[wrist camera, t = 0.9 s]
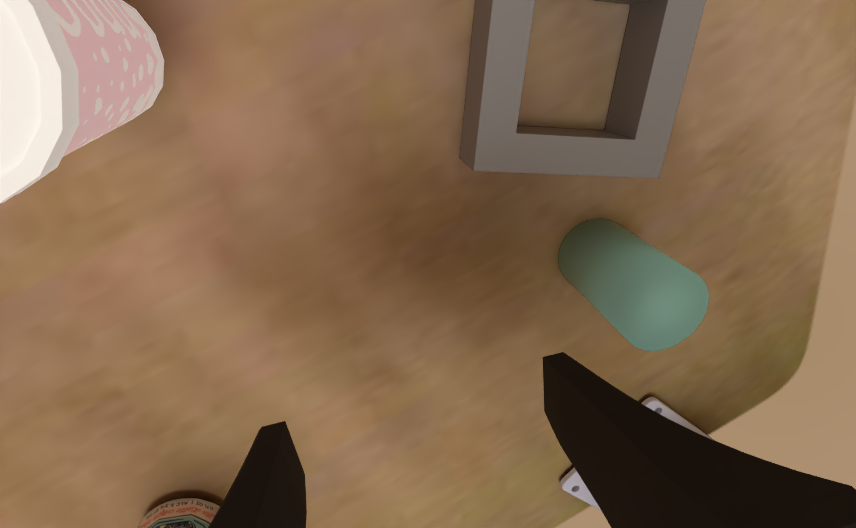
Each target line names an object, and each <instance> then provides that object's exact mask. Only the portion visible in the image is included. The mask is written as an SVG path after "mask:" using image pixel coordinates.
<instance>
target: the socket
mask: <svg viewBox="0 0 856 528" xmlns="http://www.w3.org/2000/svg"><path fill="white" fill-rule="evenodd" d="M596 1H605V2H614V3H623V4H631V7H630V12H629V17H628V21H627V26H626V31H625V35H624V40H623V45H622V50H621V54H620V59H619V64H618V69H617V73H616V78H615V83H614V87H613V92H612V97H611V102H610V106H609V111H608V116H607V121H606V125H605V130H586V129H569V128H552V127H535V126H517V123H518V116H519V109H520V102H521V95H522V88H523V81H524V74H525V67H526V60H527V53H528V46H529V39H530V32H531V25H532V18H533V11H534V4H535V0H475V7H474V17H473V27H472V37H471V47H470V57H469V67H468V77H467V87H466V97H465V107H464V117H463V127H462V137H461V147H460V157H459V158H460V159H461V160H462V161H463V162H464V163H466V164H467V165H468V166H469V167H470V168H471V169H472V170H473V171H489V172H514V173H539V174H564V175H589V176H615V177H640V178H659V176H660V173H661V169H662V165H663V161H664V157H665V154H666V150H667V146H668V142H669V138H670V135H671V131H672V127H673V123H674V120H675V116H676V112H677V108H678V104H679V101H680V97H681V93H682V89H683V86H684V82H685V78H686V74H687V70H688V67H689V63H690V59H691V55H692V51H693V48H694V44H695V40H696V36H697V33H698V29H699V25H700V21H701V17H702V14H703V10H704V6H705V2H706V0H596Z"/></svg>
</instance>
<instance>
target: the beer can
mask: <svg viewBox="0 0 856 528" xmlns="http://www.w3.org/2000/svg"><path fill="white" fill-rule="evenodd" d="M219 508H220V506H218V505H217V504H215V503H212V502H208V501H205V500H202V499H197V498H183V499H176V500H172V501H168V502H165V503H163V504H161V505H159V506H157V507H155V508H154V509H152V510H151V511H150V512H148V513H147V514H146V515H145V516H144V517H143V519H142V520H141V522H140V523H139V525H138V528H208V527H209V525H210V523H211V522H212V520H213V518H214V516H215V515H216V513H217V511H218V510H219Z"/></svg>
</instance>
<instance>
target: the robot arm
mask: <svg viewBox="0 0 856 528" xmlns="http://www.w3.org/2000/svg"><path fill="white" fill-rule="evenodd" d="M543 379H544V411H545V413H546V416H547V418H548V420H549V422H550V424H551V427H552V429H553V431H554V433H555V435H556V437H557V439H558V441H559V443H560V445H561V447H562V448H563V450H564V452H565V453H566V455H567V456H568V458H569V460H570V461H571V463H572V465H573V466H574V468H573V469H572V470H571V471H570V472H569V473H568V474H566V475H565V476H564V477H563V478H562V480H561V482H560V484H561V487H562V489H563V490H564V491H566V492H568V493H570V494H572V495H573V496H575V497H577V498H579V499H581V500H583V501H585V502H586V503H588V504H590V505H592V506H594V507H596V508H598V509H600V510H601V511H602V512H603V514H604V516H605V517H606V519H607V520H608V523H609V524H610V526H611V528H856V489H854V488H853V487H852V486H849V485H846V484H842V483H838V482H835V481H831V480H828V479H824V478H820V477H817V476H813V475H810V474H806V473H802V472H799V471H796V470H792V469H790V468H787V467H784V466H780V465H778V464H775V463H772V462H769V461H765V460H762V459H760V458H757V457H754V456H752V455H749V454H746V453H744V452H741V451H739V450H736V449H734V448H731V447H729V446H726V445H724V444H721V443H719V442H717V441H715V440H713V439H712V438H710V437H709V436H708V435H706V434H705V433H704V432H702V431H701V430H699V429H698V428H697V427H695V426H694V425H693V424H691V423H690V422H688V421H687V420H686V419H684V418H683V417H682V416H680V415H679V414H677V413H676V412H675V411H673V410H672V409H670V408H669V407H668V406H666V405H665V404H664V403H662V402H661V401H659V400H658V399H657V398H655V397H649V398H647V399H645V400H644V401H643V402H642V403H639V402H638V401H636V400H634V399H633V398H631V397H629V396H628V395H626V394H625V393H623V392H622V391H620V390H618V389H617V388H615V387H614V386H612V385H611V384H609V383H608V382H606V381H605V380H603V379H602V378H600V377H599V376H597V375H596V374H594V373H593V372H591V371H590V370H588V369H587V368H586V367H584V366H583V365H581V364H580V363H578V362H577V361H575V360H574V359H573V358H571V357H570V356H568V355H567V354H565V353H564V352H562V353H558V354H554V355H550V356H546V357H543ZM655 409H656V410H655ZM306 513H307V511H306V488H305V474H304V471H303V468H302V465H301V463H300V460H299V457H298V455H297V452H296V449H295V446H294V444H293V441H292V438H291V436H290V433H289V430H288V428H287V425H286V422H285V421H284V422H280V423H276V424H272V425H268V426H264V427H261V429H260V430H259V432H258V434H257V436H256V438H255V440H254V442H253V445H252V447H251V449H250V451H249V453H248V455H247V457H246V459H245V461H244V463H243V465H242V467H241V469H240V471H239V473H238V475H237V477H236V479H235V481H234V483H233V484H232V486H231V488H230V490H229V492H228V494H227V496H226V497H225V499H224V501H223V503H222V505H221V506H220V508H219V510H218V511H217V513H216V515H215V516H214V518H213V520H212V522H211V523H210V525H209V527H208V528H306Z"/></svg>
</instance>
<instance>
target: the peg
mask: <svg viewBox="0 0 856 528" xmlns="http://www.w3.org/2000/svg"><path fill="white" fill-rule="evenodd" d="M558 263H559V268H560V270H561V272H562V274H563V275H564V277H565V278H566V279H567V280H568V281H569V282H570V283H571V284H572V285H573V286H574V287H575V288H576V289H577V290H578V291H579V292H580V293H581V294H582V295H583V296H584V297H585V298H586V299H587V300H588V301H589V302H590V303H591V304H592V305H593V306H594V307H595V308H596V309H597V310H598V311H599V312H600V313H601V314H602V315H603V316H604V317H605V318H606V319H607V320H608V321H609V322H610V323H611V324H612V325H613V326H614V327H615V328H616V329H617V330H618V331H619V332H620V333H621V334H622V335H623V336H624V337H625V338H626V339H627V340H628V341H629V342H630V343H631V344H632V345H633V346H635V347H637V348H639V349H642V350H646V351H659V350H664V349H667V348H670V347H673V346H675V345H677V344H679V343H680V342H682V341H683V340H685V339H686V338H687V337H689V336H690V335H691V334H692V333H693V332H694V331H695V330H696V328H697V327H698V326H699V325H700V323H701V321H702V320H703V318H704V316H705V314H706V311H707V308H708V303H709V293H708V288H707V286H706V284H705V282H704V280H703V279H702V278H701V277H700V276H699V275H697V274H696V273H694V272H693V271H691V270H690V269H688V268H687V267H685V266H683V265H682V264H680V263H679V262H677V261H675V260H674V259H672V258H671V257H669V256H667V255H666V254H664V253H663V252H661V251H660V250H658V249H656V248H655V247H653V246H652V245H650V244H648V243H647V242H645V241H644V240H642V239H640V238H639V237H637V236H636V235H634V234H632V233H631V232H629V231H628V230H626V229H625V228H623V227H621V226H620V225H618V224H617V223H615V222H613V221H611V220H608V219H603V218H596V219H591V220H587V221H585V222H583V223H581V224H579V225H577V226H576V227H575V228H573V229H572V230H571V231H570V232H569V233H568V235H567V236H566V237H565V239H564V240H563V242H562V244H561V247H560V250H559V254H558Z"/></svg>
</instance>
